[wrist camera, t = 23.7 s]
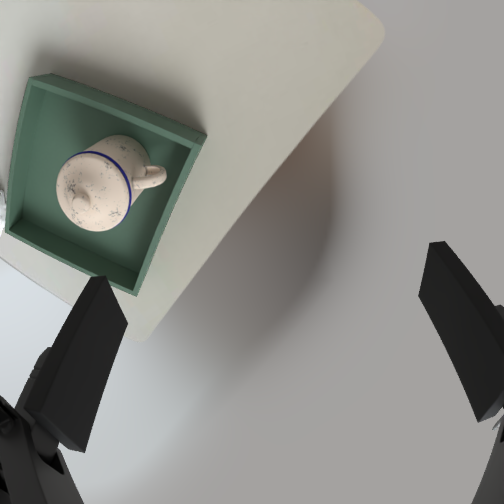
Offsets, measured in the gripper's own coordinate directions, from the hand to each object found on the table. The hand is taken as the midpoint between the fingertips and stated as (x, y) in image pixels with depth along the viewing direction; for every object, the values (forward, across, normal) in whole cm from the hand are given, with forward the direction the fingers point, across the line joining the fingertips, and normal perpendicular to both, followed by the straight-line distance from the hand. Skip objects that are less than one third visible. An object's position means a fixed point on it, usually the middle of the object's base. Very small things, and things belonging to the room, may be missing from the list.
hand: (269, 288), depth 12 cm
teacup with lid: (+28, -16, -1) cm, 32 cm away
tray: (+29, -22, -2) cm, 37 cm away
